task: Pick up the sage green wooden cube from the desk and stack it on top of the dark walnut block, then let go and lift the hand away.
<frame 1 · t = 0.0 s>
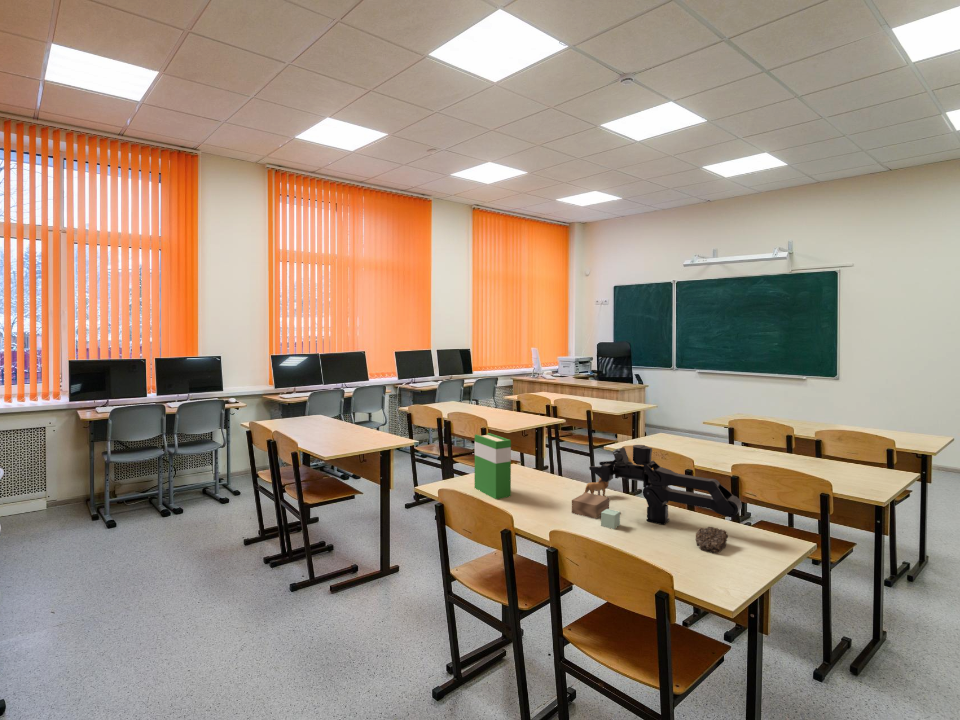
hand: (594, 465, 206), 17 cm above the table, tool horizontal, fingers open, 9 cm apart
hardback book: (492, 492, 225), on the table
lion figurine: (596, 497, 219), on the table
walnut block: (590, 511, 201), on the table
brown rock: (710, 547, 169), on the table
sage cube: (610, 525, 187), on the table
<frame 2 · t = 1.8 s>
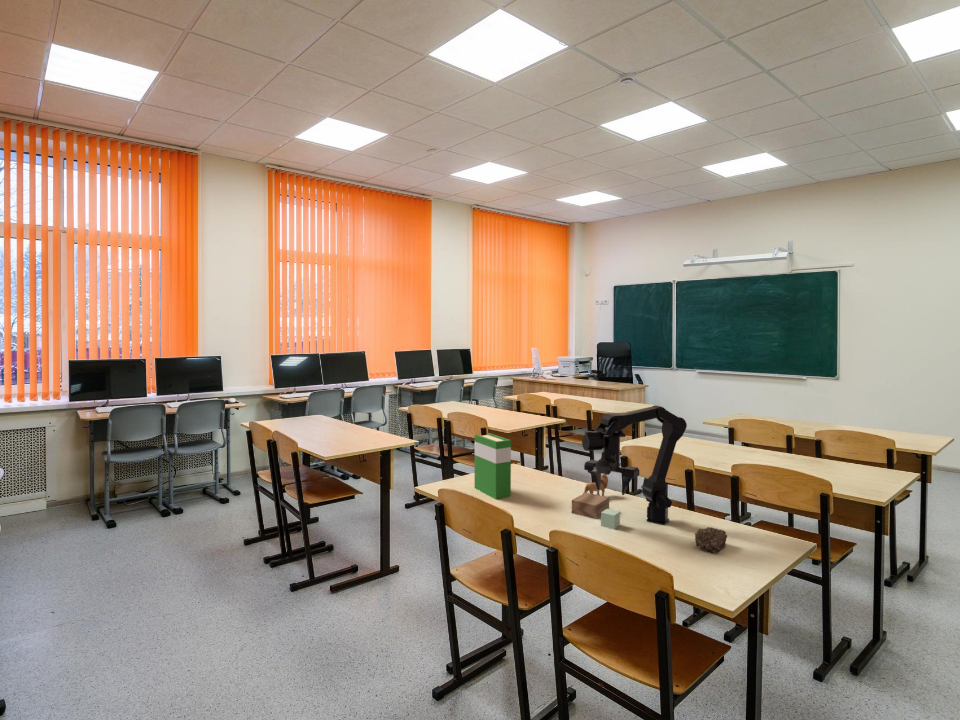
hand: (610, 492, 186), 12 cm above the table, tool pointing down, fingers open, 9 cm apart
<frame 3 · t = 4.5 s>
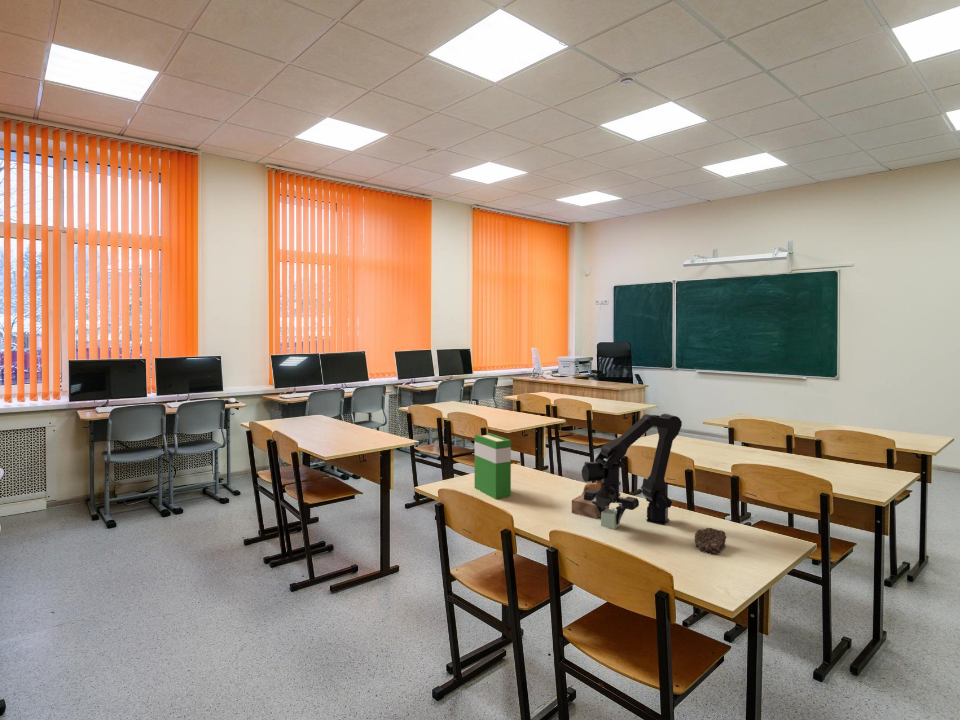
hand: (610, 522, 187), 1 cm above the table, tool pointing down, fingers closed on sage cube, 5 cm apart
sage cube: (610, 525, 187), on the table, touching gripper
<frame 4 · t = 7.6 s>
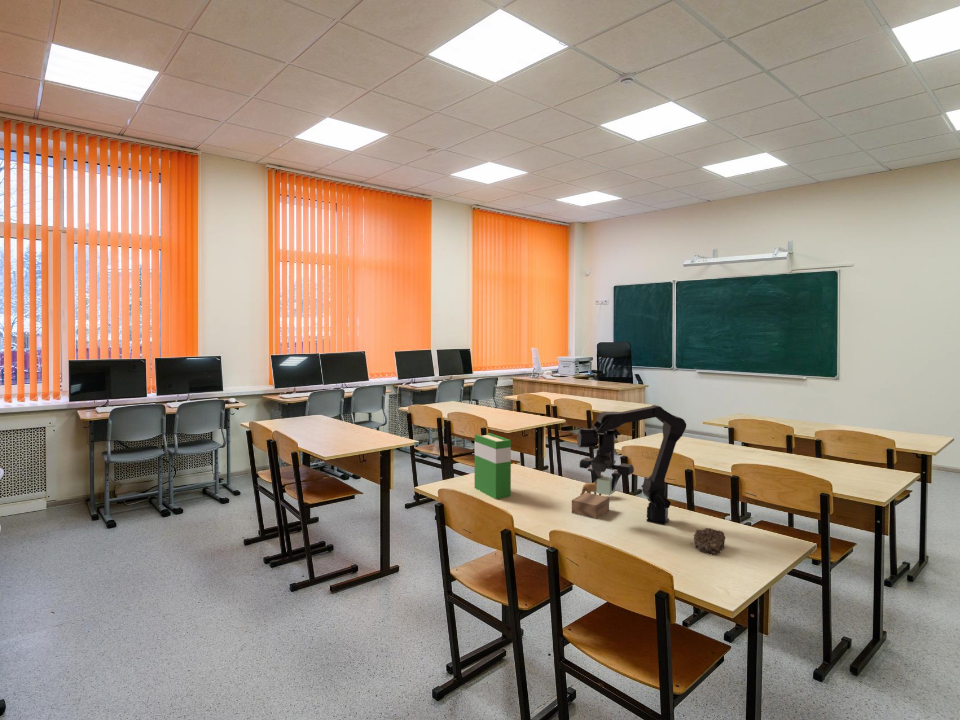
hand: (605, 489, 190), 12 cm above the table, tool pointing down, fingers closed on sage cube, 5 cm apart
sage cube: (605, 492, 190), point 11 cm above the table, touching gripper
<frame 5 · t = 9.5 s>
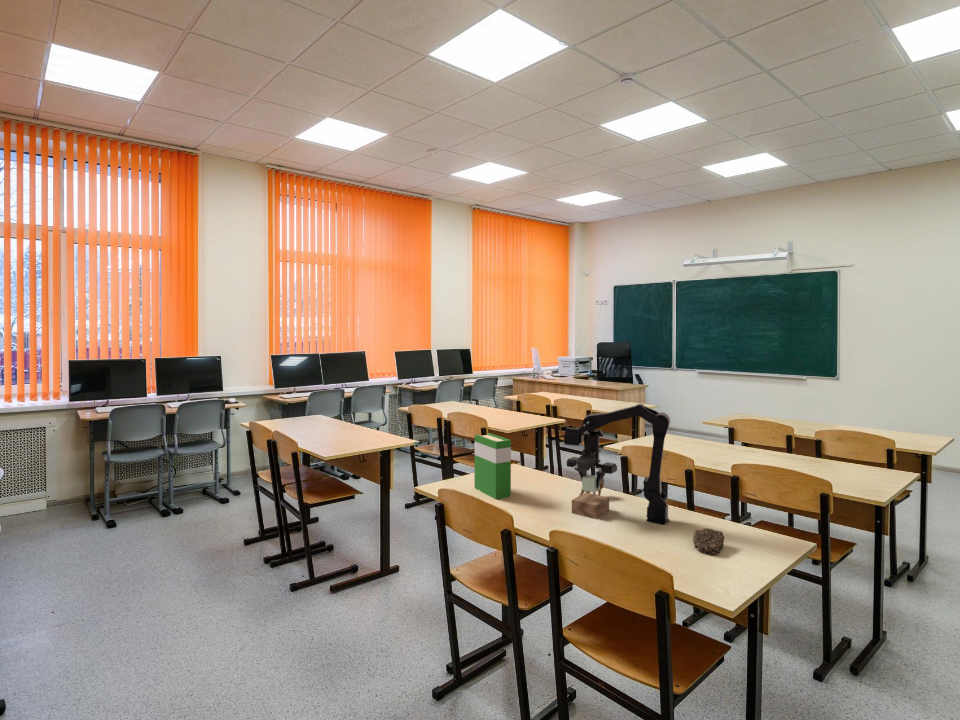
hand: (591, 487, 201), 10 cm above the table, tool pointing down, fingers closed on sage cube, 5 cm apart
sage cube: (591, 489, 201), point 9 cm above the table, touching gripper
when the fingers open (7 cm above the table, at t = 11.1 s): sage cube stays where it is, resting on walnut block.
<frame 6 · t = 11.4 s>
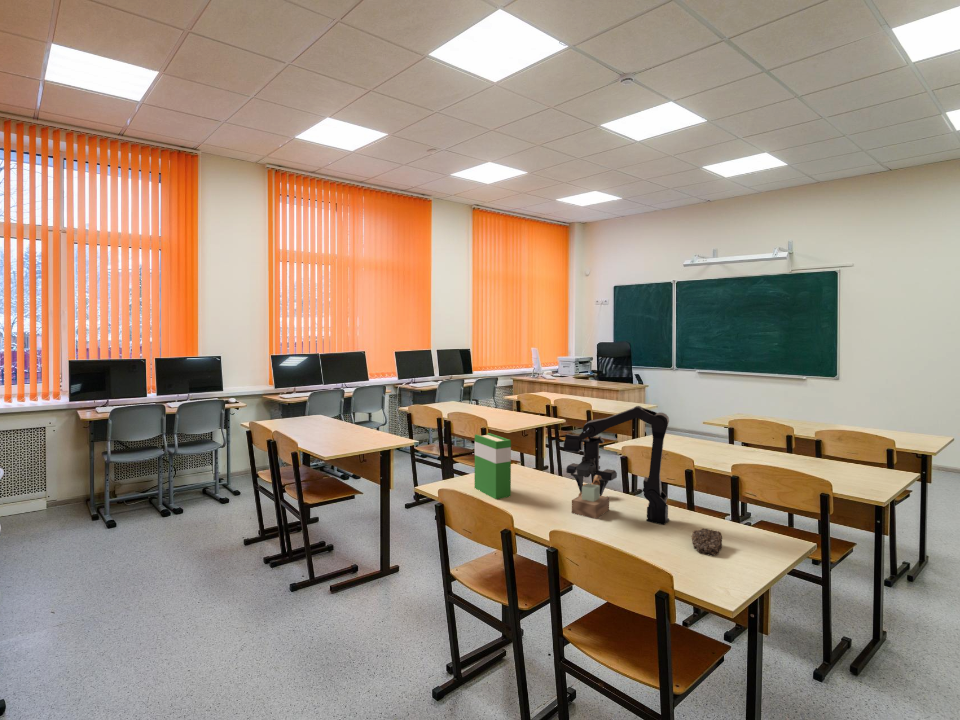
hand: (590, 493, 201), 7 cm above the table, tool pointing down, fingers open, 8 cm apart
sage cube: (590, 498, 201), point 5 cm above the table, touching walnut block
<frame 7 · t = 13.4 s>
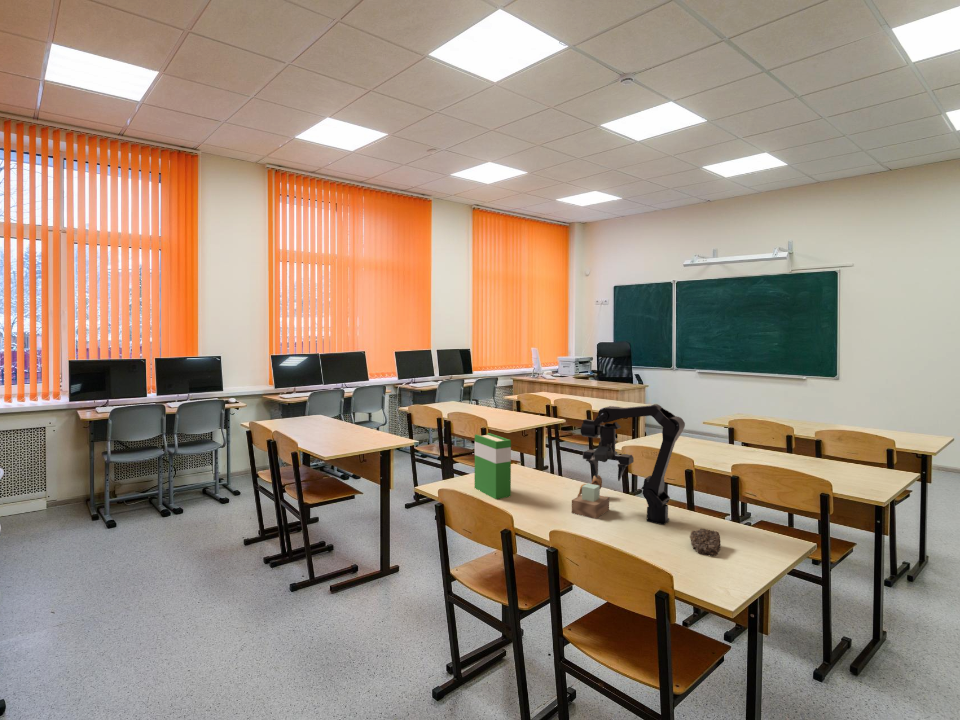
hand: (607, 478, 203), 12 cm above the table, tool pointing down, fingers open, 9 cm apart
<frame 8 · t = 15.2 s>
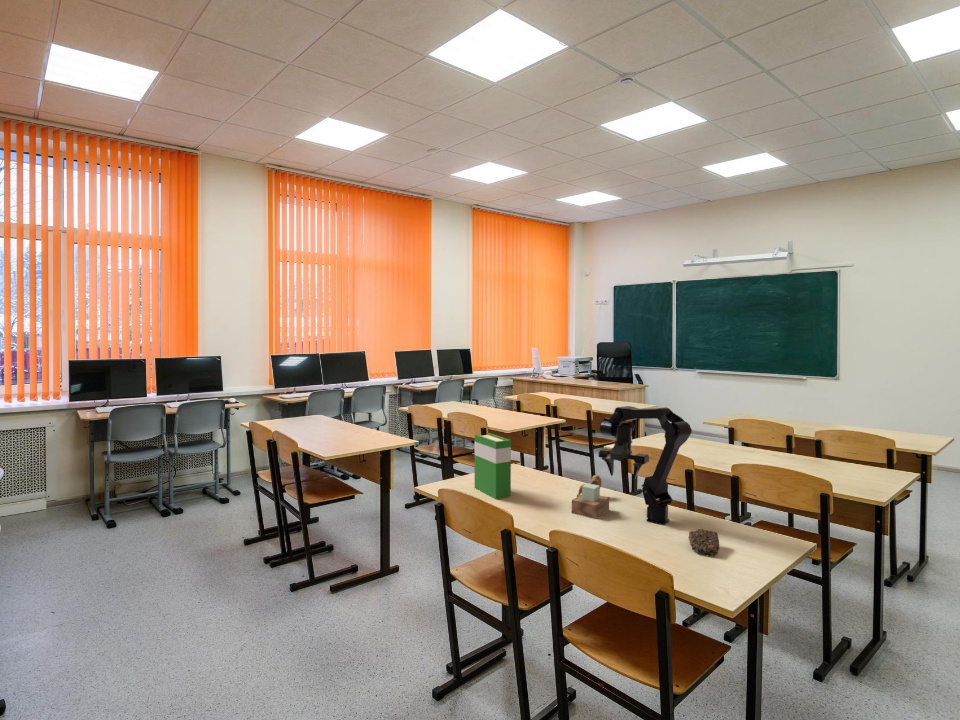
hand: (623, 477, 205), 12 cm above the table, tool pointing down, fingers open, 9 cm apart
at the end: sage cube inside the target area on the walnut block (0.1 cm from its centre), point 5.0 cm above the walnut block's base; sage cube tilted 0°; the gripper is holding nothing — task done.
